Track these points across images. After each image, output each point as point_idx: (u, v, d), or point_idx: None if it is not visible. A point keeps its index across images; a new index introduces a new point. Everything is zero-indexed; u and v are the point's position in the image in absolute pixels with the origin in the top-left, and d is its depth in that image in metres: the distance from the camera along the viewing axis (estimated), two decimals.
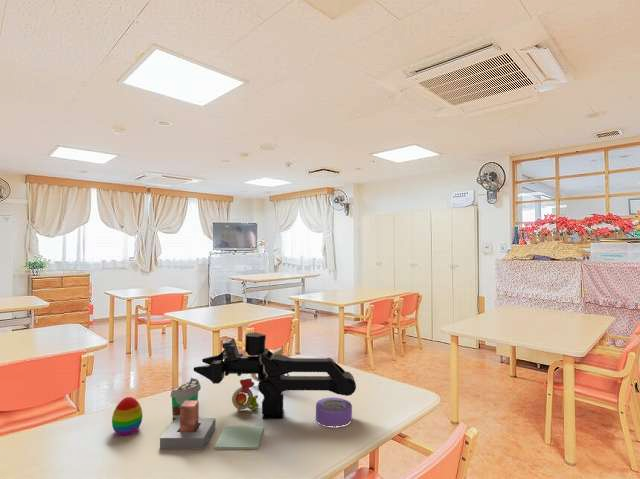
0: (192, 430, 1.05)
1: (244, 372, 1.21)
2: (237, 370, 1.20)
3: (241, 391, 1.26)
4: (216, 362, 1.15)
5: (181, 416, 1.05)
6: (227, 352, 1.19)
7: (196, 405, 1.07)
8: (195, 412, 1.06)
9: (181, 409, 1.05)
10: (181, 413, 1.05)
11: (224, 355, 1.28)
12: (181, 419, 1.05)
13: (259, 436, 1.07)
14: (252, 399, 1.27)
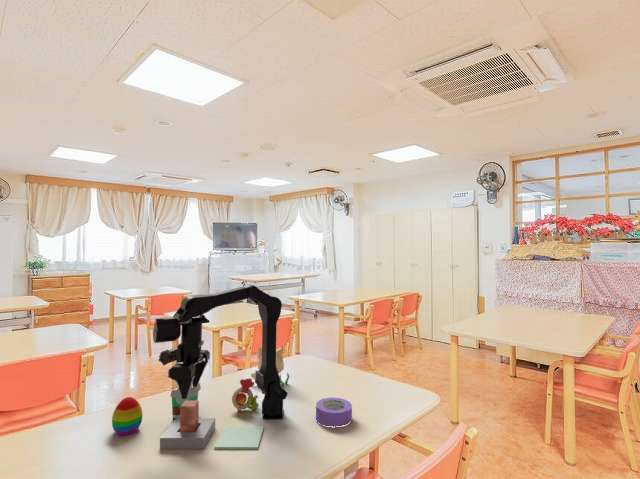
0: (192, 430, 1.05)
1: (199, 338, 1.07)
2: (192, 348, 1.05)
3: (241, 391, 1.26)
4: None
5: (181, 416, 1.05)
6: (167, 359, 1.04)
7: (196, 405, 1.07)
8: (195, 412, 1.06)
9: (181, 409, 1.05)
10: (181, 413, 1.05)
11: None
12: (181, 419, 1.05)
13: (259, 436, 1.07)
14: (252, 399, 1.27)
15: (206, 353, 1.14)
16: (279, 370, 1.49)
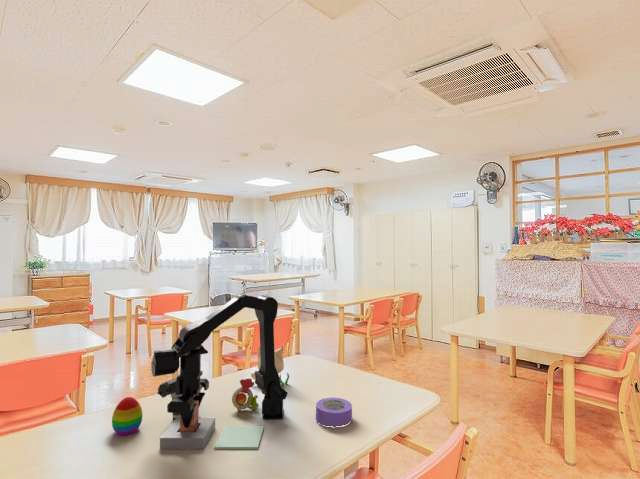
0: (192, 430, 1.05)
1: (198, 370, 1.07)
2: (190, 380, 1.05)
3: (241, 391, 1.26)
4: None
5: None
6: (166, 392, 1.03)
7: None
8: (195, 412, 1.06)
9: None
10: None
11: None
12: (181, 419, 1.05)
13: (259, 436, 1.07)
14: (252, 399, 1.27)
15: (205, 382, 1.14)
16: (279, 370, 1.49)
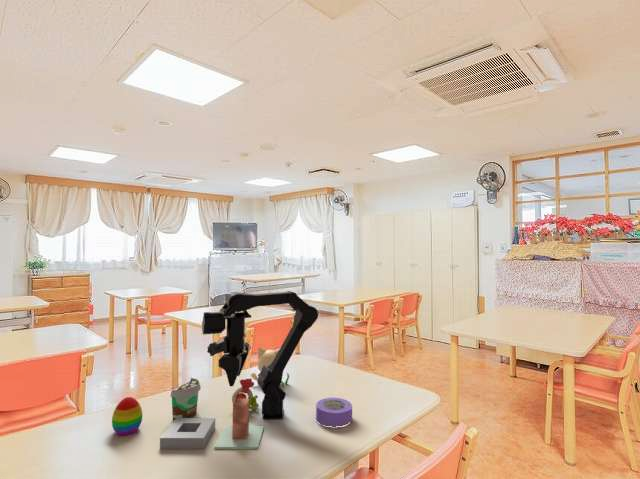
0: (245, 428, 1.05)
1: (242, 332, 1.17)
2: (237, 340, 1.15)
3: (241, 391, 1.26)
4: None
5: (234, 414, 1.06)
6: (215, 350, 1.14)
7: (247, 403, 1.08)
8: (247, 410, 1.07)
9: (234, 407, 1.06)
10: (234, 411, 1.06)
11: None
12: (233, 417, 1.05)
13: (259, 436, 1.07)
14: (252, 399, 1.27)
15: (247, 345, 1.24)
16: None
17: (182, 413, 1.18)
